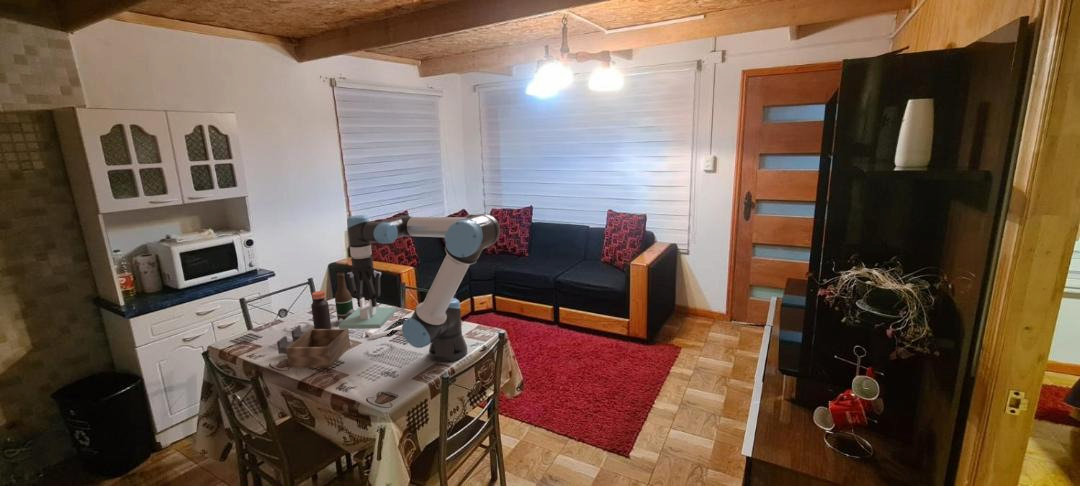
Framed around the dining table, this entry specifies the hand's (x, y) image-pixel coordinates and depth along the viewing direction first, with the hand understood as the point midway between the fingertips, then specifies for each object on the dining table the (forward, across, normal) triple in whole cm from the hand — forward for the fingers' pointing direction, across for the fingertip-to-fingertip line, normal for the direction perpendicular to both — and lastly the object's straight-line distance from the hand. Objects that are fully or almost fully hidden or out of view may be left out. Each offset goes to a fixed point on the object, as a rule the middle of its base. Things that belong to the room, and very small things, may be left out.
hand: (368, 314), depth 183 cm
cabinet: (+18, +23, 0) cm, 29 cm away
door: (+2, +1, 0) cm, 3 cm away
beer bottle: (+18, +27, -37) cm, 49 cm away
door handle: (+18, +3, -27) cm, 33 cm away
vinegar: (+18, +30, -21) cm, 41 cm away
